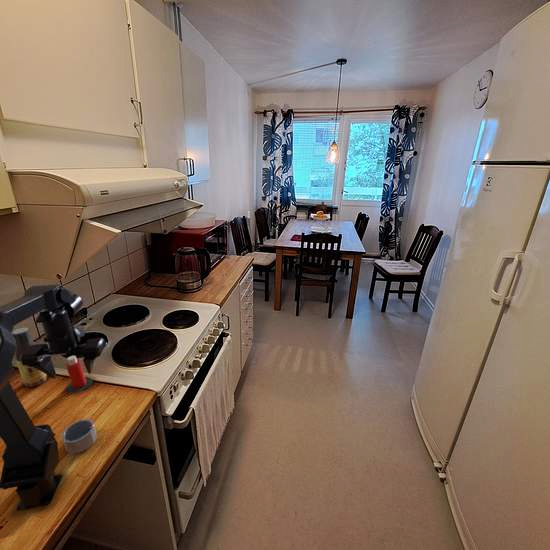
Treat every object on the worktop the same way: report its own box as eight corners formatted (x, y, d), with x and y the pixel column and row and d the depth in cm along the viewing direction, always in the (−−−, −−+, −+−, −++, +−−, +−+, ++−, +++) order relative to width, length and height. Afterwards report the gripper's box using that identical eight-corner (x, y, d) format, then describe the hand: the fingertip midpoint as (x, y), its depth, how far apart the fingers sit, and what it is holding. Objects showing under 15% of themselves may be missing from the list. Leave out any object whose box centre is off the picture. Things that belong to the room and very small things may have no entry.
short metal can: (91, 452, 74) (87, 439, 72) (61, 457, 73) (56, 444, 71) (101, 428, 80) (97, 417, 79) (73, 433, 79) (68, 421, 77)
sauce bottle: (35, 389, 93) (15, 338, 86) (19, 386, 95) (-1, 336, 87) (53, 375, 99) (36, 327, 92) (38, 373, 101) (20, 324, 93)
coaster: (87, 391, 93) (87, 390, 93) (63, 394, 92) (63, 393, 91) (95, 376, 99) (95, 375, 99) (72, 379, 98) (72, 378, 98)
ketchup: (83, 387, 94) (75, 360, 90) (71, 389, 93) (62, 362, 89) (88, 379, 97) (80, 353, 93) (75, 381, 97) (67, 354, 92)
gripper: (106, 310, 85) (116, 353, 91) (34, 316, 81) (50, 361, 87) (92, 331, 75) (104, 378, 81) (10, 339, 71) (29, 387, 77)
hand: (72, 375), depth 82 cm, fingers open, 9 cm apart
